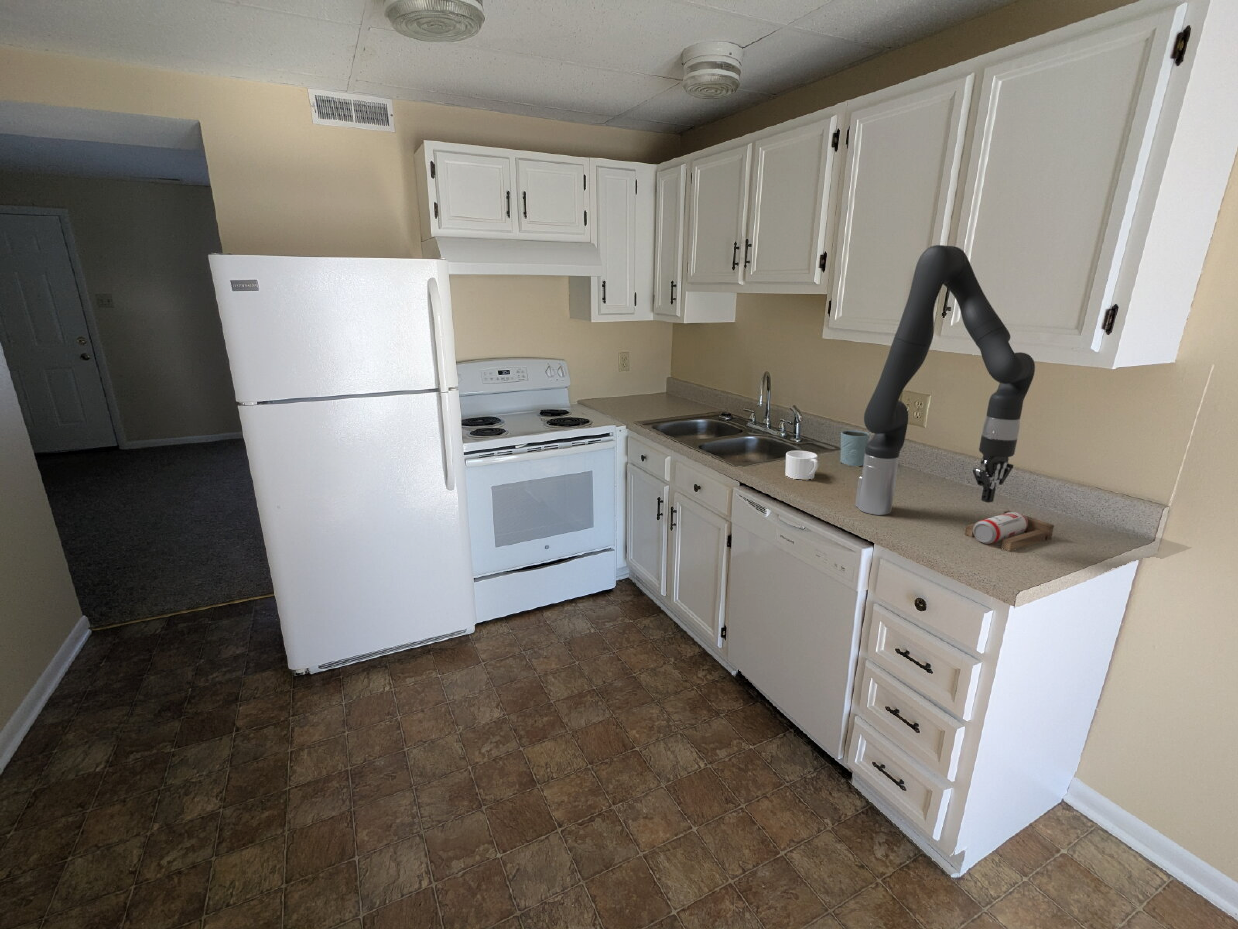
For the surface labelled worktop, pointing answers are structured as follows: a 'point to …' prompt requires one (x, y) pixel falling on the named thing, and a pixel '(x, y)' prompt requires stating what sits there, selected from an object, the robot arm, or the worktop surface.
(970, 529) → the cradle
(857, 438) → the teal cup
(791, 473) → the mug
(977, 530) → the beer can
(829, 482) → the worktop surface
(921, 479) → the worktop surface
